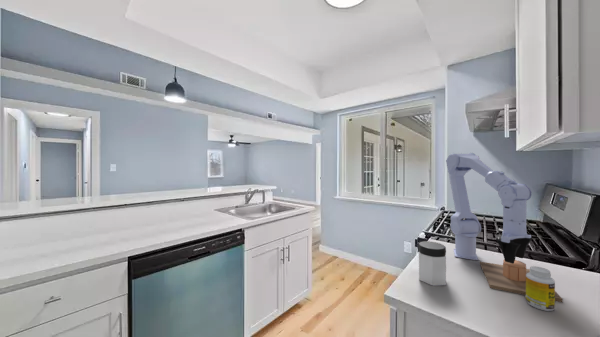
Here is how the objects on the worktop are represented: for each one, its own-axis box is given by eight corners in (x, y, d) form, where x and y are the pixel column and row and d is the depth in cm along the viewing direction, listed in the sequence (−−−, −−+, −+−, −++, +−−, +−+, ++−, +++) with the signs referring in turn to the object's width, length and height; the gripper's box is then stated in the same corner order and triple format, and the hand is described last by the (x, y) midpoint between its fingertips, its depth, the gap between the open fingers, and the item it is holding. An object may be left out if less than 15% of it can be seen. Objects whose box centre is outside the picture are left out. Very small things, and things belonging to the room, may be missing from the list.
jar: (447, 289, 73) (447, 251, 73) (418, 283, 77) (418, 247, 76) (445, 276, 81) (444, 242, 80) (419, 271, 85) (418, 239, 84)
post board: (479, 263, 90) (479, 252, 90) (536, 273, 82) (536, 260, 82) (490, 287, 73) (490, 273, 73) (562, 302, 65) (562, 286, 65)
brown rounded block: (513, 281, 75) (513, 266, 75) (499, 273, 80) (499, 259, 80) (531, 281, 75) (531, 266, 75) (515, 273, 80) (515, 259, 80)
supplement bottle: (552, 314, 60) (552, 276, 60) (523, 304, 64) (523, 268, 64) (556, 307, 63) (557, 270, 63) (528, 297, 68) (528, 263, 67)
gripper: (521, 225, 70) (521, 269, 70) (538, 219, 77) (538, 259, 78) (493, 220, 76) (493, 261, 77) (511, 215, 83) (511, 252, 84)
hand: (514, 259), depth 78 cm, fingers open, 7 cm apart
